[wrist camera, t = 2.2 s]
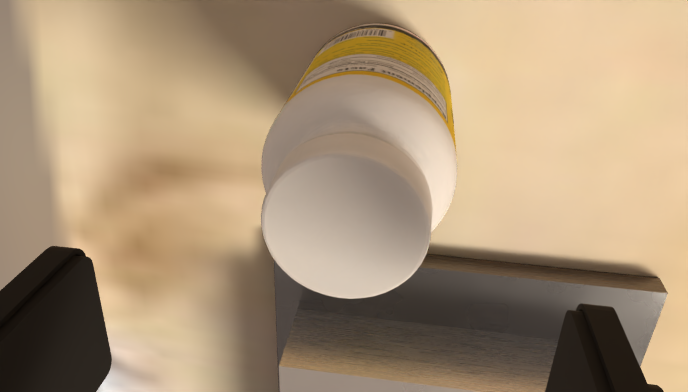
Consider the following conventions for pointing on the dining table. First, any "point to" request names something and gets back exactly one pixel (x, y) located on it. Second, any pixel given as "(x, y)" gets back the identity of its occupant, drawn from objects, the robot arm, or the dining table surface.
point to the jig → (449, 327)
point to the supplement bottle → (360, 164)
